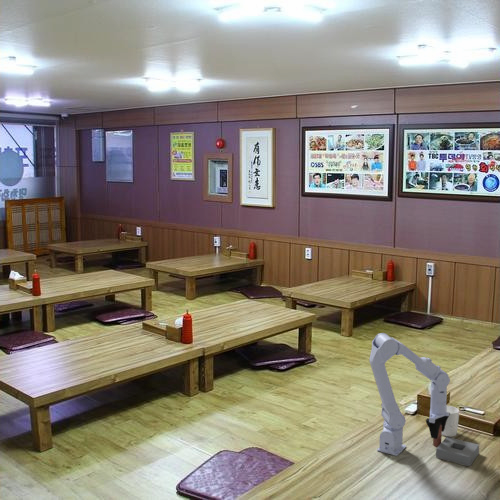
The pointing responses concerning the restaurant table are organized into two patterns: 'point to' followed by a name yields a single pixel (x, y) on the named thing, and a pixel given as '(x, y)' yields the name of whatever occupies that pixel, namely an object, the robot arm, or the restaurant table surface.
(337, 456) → the restaurant table surface
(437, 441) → the pin
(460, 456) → the block
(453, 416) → the white cup
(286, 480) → the restaurant table surface
